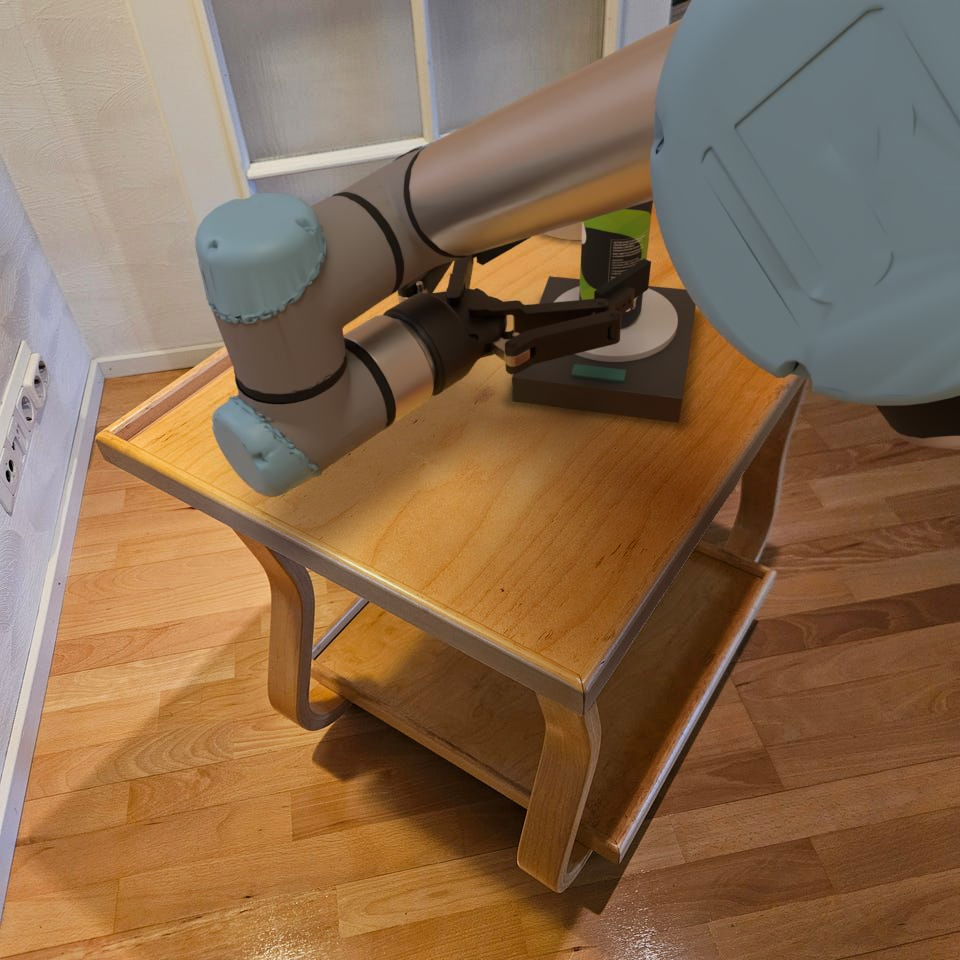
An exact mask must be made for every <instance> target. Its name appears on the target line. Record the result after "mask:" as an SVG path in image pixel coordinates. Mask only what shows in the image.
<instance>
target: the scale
mask: <svg viewBox="0 0 960 960" xmlns="http://www.w3.org/2000/svg"><path fill="white" fill-rule="evenodd" d="M579 290H580V278H572V277H561V276H552V275H549V276H548V279H547V280H546V284H545V287H544V289H543V292H542V295H541V297H540V299H539V303H538V304H541V303H552V302H564V301H575V300H579ZM696 308H697V306H696V305H695V303H694V302H693V300H692V299H691V297H690V295H689V294H688V292H687V291H686V289H685V288H676V287H675V288H674V287H667V286H666V287H664V286H656V285H649V286H648V290H647V291H645V292H644V293H643V298H642V307H641V313H640V315H639V316H638V317H637V319H635V320H634V321H633V322H632V323H631V324H629V325H628V326H626V327H623V328H621V333H620V341H619V342H618V343H616V344H613V345H609V346H605V347H601V348H597V349H593V350H589V351H585V352H581V353H577V354H573V355H569V356H565V357H561V358H557V359H553V360H549V361H545V362H541V363H537V364H534V365H532V366H530V367H528V368H527V369H525V370H523V371H521V372H519V373H517V374H512V375H511V376H512V377H511V393H512V402H515V403H524V404H532V405H539V406H547V407H554V408H562V409H569V410H578V411H585V412H592V413H600V414H608V415H616V416H622V417H631V418H639V419H646V420H652V421H662V422H668V423H677V424H679V423H680V418H681V417H680V416H681V411H682V405H683V399H684V392H685V384H686V378H687V371H688V364H689V356H690V349H691V343H692V335H693V334H692V333H693V327H694V320H695V313H696Z"/></svg>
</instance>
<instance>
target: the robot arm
mask: <svg viewBox="0 0 960 960" xmlns="http://www.w3.org/2000/svg"><path fill="white" fill-rule="evenodd" d="M652 200H653V206H654V210H655V216H656V220H657V223H658V227H659V231H660V234H661V238H662V240H663V243H664V247H665V249H666V251H667V254H668V257H669V259H670V261H671V263H672V266H673V268H674V270H675V272H676V274H677V275H678V278H679V280H680V282H681V284H682V285H683V288H684V289H686V291H687V292H688V294H689V295H690V297H691V299H692V300H693V302H694V303H695V305H696V308H697V309H698V310H699V312H700V313H701V314H702V316H703V317H704V318H705V319H706V321H707V322H708V323H709V324H710V325H711V327H712V328H713V329H714V330H715V331H716V332H717V333H718V334H719V335H720V336H721V337H722V338H723V339H724V340H725V341H726V342H727V343H728V344H729V345H730V346H731V347H733V348H734V350H736V351H737V352H739V354H741V355H742V356H743V357H745V358H746V359H747V360H749V361H750V362H751V363H752V364H753V365H755V366H757V367H759V368H760V369H761V370H763V371H764V372H767V373H768V374H770V375H772V376H773V377H775V378H776V379H780V378H781V379H784V378H786V377H788V376H790V375H792V376H793V375H794V376H798V377H802V378H806V379H808V380H811V391H812V392H813V393H814V394H815V395H820V396H823V397H826V398H830V399H833V400H836V401H838V402H842V403H843V402H844V403H850V404H856V405H866V406H867V405H868V406H875V407H876V408H877V410H878V411H879V412H880V414H881V415H882V416H883V418H884V419H885V420H886V422H887V423H888V425H889V427H890V428H891V430H893V431H894V433H895V434H896V435H897V436H898V437H899V438H901V440H903V441H905V442H908V443H910V444H912V445H914V446H915V445H916V446H921V447H928V448H937V449H947V450H954V451H955V450H957V451H960V0H691V1H690V2H689V4H688V6H687V8H686V10H685V11H684V14H683V16H682V17H681V18H680V19H677V20H676V21H674V22H672V23H670V24H668V25H666V26H663V27H661V28H660V29H658V30H656V31H654V32H651V33H650V34H648V35H646V36H644V37H642V38H640V39H638V40H635V41H634V42H632V43H630V44H628V45H625V46H624V47H622V48H620V49H618V50H616V51H614V52H612V53H610V54H608V55H606V56H604V57H601V58H599V59H598V60H596V61H594V62H591V63H589V64H587V65H585V66H584V67H583V66H582V67H581V68H580V69H577V70H576V71H574V72H571V73H570V74H567V75H565V76H563V77H561V78H559V79H557V80H555V81H553V82H551V83H549V84H547V85H545V86H543V87H541V88H539V89H537V90H534V91H533V92H531V93H529V94H527V95H525V96H522V97H521V98H519V99H516V100H515V101H513V102H511V103H509V104H507V105H505V106H503V107H501V108H498V109H497V110H495V111H493V112H491V113H488V114H487V115H484V116H483V117H481V118H479V119H477V120H475V121H473V122H471V123H469V124H467V125H465V126H463V127H461V128H458V129H457V130H455V131H453V132H451V133H448V134H447V135H444V136H443V137H439V138H438V139H437V140H435V141H431V142H429V143H427V144H424V145H419V146H416V147H414V148H411V149H410V150H408V151H407V152H405V153H403V154H400V155H398V157H396V158H395V159H394V160H392V161H391V162H390V163H388V164H386V165H384V166H382V167H380V168H379V169H377V170H376V171H374V172H372V173H370V174H369V175H367V176H365V177H363V178H362V179H360V180H357V181H356V182H354V183H353V184H351V185H350V186H348V187H346V188H345V189H343V190H340V191H339V192H336V193H334V194H332V195H331V196H327V197H325V198H324V199H322V200H320V201H319V202H316V203H315V204H313V205H310V204H309V203H307V202H306V201H305V200H303V199H302V198H299V197H297V196H294V195H291V194H288V193H282V192H281V193H280V192H279V193H277V192H260V193H253V194H251V195H250V196H249V197H246V198H233V199H231V200H228V201H226V202H224V203H222V204H220V205H218V206H217V207H215V208H214V209H212V210H211V211H210V212H209V213H208V214H207V215H206V216H205V217H204V218H203V219H202V221H201V222H200V223H199V225H198V227H197V230H196V234H195V237H194V239H195V240H194V242H195V243H194V244H195V245H194V246H195V251H196V252H195V253H196V256H197V260H198V267H199V271H200V275H201V280H202V284H203V288H204V293H205V297H206V301H207V303H208V306H209V307H210V309H211V312H212V314H213V316H214V319H215V322H216V324H217V325H216V326H217V328H218V331H219V333H220V335H221V338H222V341H223V343H224V347H225V349H226V351H227V354H228V356H229V359H230V362H231V364H232V368H233V373H234V382H235V385H236V388H237V395H233V396H229V397H228V399H227V401H226V402H225V403H223V404H221V405H220V406H218V407H217V408H216V409H215V410H214V412H213V413H212V418H211V422H212V433H213V436H214V439H215V441H216V444H217V445H218V447H219V449H220V451H221V452H222V454H223V456H224V458H225V459H226V461H227V462H228V464H229V465H230V467H231V468H232V470H233V471H234V472H235V473H236V474H237V475H238V477H239V478H240V479H241V480H242V481H243V482H244V483H245V484H246V485H247V486H248V487H249V488H250V489H252V490H253V491H254V492H256V493H257V494H259V495H261V496H264V497H267V498H277V497H280V496H282V495H284V494H286V493H288V492H290V491H292V490H294V489H295V488H297V487H299V486H301V485H303V484H304V483H306V482H309V481H310V480H311V479H314V478H316V477H319V476H321V475H323V472H325V470H327V469H328V468H329V467H331V466H333V465H334V464H335V463H337V462H338V461H340V460H341V459H343V458H344V457H346V456H347V455H349V454H350V453H352V452H353V451H355V450H356V449H358V448H359V447H361V446H362V445H364V444H365V443H366V442H368V441H370V440H371V439H372V438H374V437H376V436H377V435H378V434H380V433H381V432H383V431H384V430H386V429H388V428H389V427H390V426H392V425H394V424H395V423H396V422H398V421H400V420H401V419H403V418H404V417H406V416H407V415H408V414H410V413H412V412H413V411H415V410H416V409H418V408H419V407H421V406H423V405H424V404H426V403H427V402H428V401H429V400H430V399H431V397H436V396H438V395H440V394H441V393H443V392H444V391H446V390H447V389H449V388H450V387H452V386H453V385H455V384H457V383H458V382H459V381H461V380H462V379H464V378H466V376H468V374H469V373H470V372H471V370H472V368H473V367H474V366H475V364H477V362H478V361H479V360H480V359H483V358H486V357H491V356H494V355H495V356H496V357H498V358H499V359H501V360H502V361H504V363H505V365H504V366H505V372H506V374H508V375H513V374H517V373H519V372H521V371H523V370H525V369H527V368H528V367H530V366H532V365H534V364H537V363H541V362H545V361H549V360H553V359H557V358H561V357H565V356H569V355H573V354H577V353H581V352H585V351H589V350H593V349H597V348H601V347H605V346H609V345H613V344H616V343H618V342H619V341H620V333H621V322H622V314H623V313H624V312H626V311H627V310H629V309H630V308H631V307H632V306H633V303H634V299H635V298H636V297H638V296H639V295H641V294H642V293H644V292H645V291H647V290H648V286H650V285H649V284H650V277H651V268H652V261H651V260H649V259H647V260H646V259H642V260H641V261H639V262H638V263H636V264H635V265H633V266H632V267H630V268H629V269H627V270H626V271H624V272H623V273H621V274H620V275H618V276H617V277H615V278H614V279H612V280H611V281H609V282H608V283H606V284H605V285H603V286H602V287H600V288H599V289H597V290H596V291H594V299H586V300H575V301H564V302H552V303H541V304H539V303H531V304H524V303H523V302H522V301H520V300H518V299H517V300H505V301H503V300H501V299H500V298H497V297H494V296H490V295H488V294H487V293H486V292H485V291H484V290H482V289H480V288H478V287H476V288H471V283H472V276H473V269H474V265H475V264H474V263H475V262H474V259H476V263H477V264H479V265H481V266H484V265H486V264H488V263H490V262H491V261H493V260H495V259H496V258H498V257H500V256H502V255H504V254H505V253H507V252H508V251H510V250H512V249H514V248H515V247H517V246H519V245H520V244H522V243H523V242H526V241H528V240H529V239H531V238H532V237H535V236H538V235H539V236H540V235H542V234H543V233H546V232H549V231H552V230H556V229H559V228H562V227H566V226H569V225H572V224H576V223H579V222H582V221H586V220H589V219H592V218H596V217H599V216H602V215H606V214H609V213H612V212H616V211H619V210H622V209H626V208H629V207H632V206H636V205H639V204H642V203H646V202H649V201H652ZM452 264H453V265H452ZM451 266H452V272H451V273H450V274H449V278H448V283H447V284H448V285H447V287H446V290H444V291H440V292H439V291H438V292H435V290H436V288H437V287H438V285H439V284H440V283H441V281H442V279H443V278H444V276H445V275H446V273H447V272H448V270H449V269H450V267H451ZM395 293H397V297H398V302H399V303H397V304H396V305H394V306H393V307H390V308H389V309H386V311H384V312H383V314H380V315H375V316H373V317H372V318H370V319H368V320H367V321H365V322H363V323H361V324H360V325H358V326H357V327H355V328H353V329H351V330H349V331H348V332H346V333H345V334H344V328H345V326H347V325H348V324H350V323H352V322H353V321H354V320H356V319H357V318H359V317H360V316H362V315H363V314H365V313H366V312H368V311H369V310H371V309H372V308H374V307H375V306H376V305H379V304H380V303H382V302H383V301H384V300H386V299H388V298H389V297H390V296H392V295H393V294H395ZM592 313H593V315H591V314H592ZM508 316H512V317H513V318H512V319H513V320H512V322H513V323H512V326H513V327H512V329H511V330H508V331H507V326H508Z"/></svg>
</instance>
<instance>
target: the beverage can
mask: <svg viewBox="0 0 960 960" xmlns="http://www.w3.org/2000/svg"><path fill="white" fill-rule="evenodd" d="M653 205H654V202H653V200H652V201H649V202H646V203H642V204H639V205H636V206H632V207H629V208H626V209H622V210H619V211H616V212H612V213H609V214H606V215H602V216H599V217H596V218H592V219H589V220H586V221H582V240H581V243H580V245H581V246H580V270H579V279H580V290H579V300H586V299H594V291H596V290H597V289H599V288H600V287H602V286H603V285H605V284H606V283H608V282H609V281H611V280H612V279H614V278H615V277H617V276H618V275H620V274H621V273H623V272H624V271H626V270H627V269H629V268H630V267H632V266H633V265H635V264H636V263H638V262H639V261H641V260H642V259H646V260H648V259H647V258H648V249H649V241H650V231H651V224H652V223H651V221H652V213H653ZM642 298H643V293H642V294H641V295H639V296H638V297H636V298H635V299H634V303H633V306H632V307H631V308H630V309H629V310H627V311H626V312H624V313H623V314H622V322H621V328H623V327H626V326H628V325H629V324H631V323H632V322H633V321H634V320H635V319H637V317H638V316H639V315H640V313H641V307H642ZM591 315H593V313H592V314H591Z"/></svg>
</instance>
